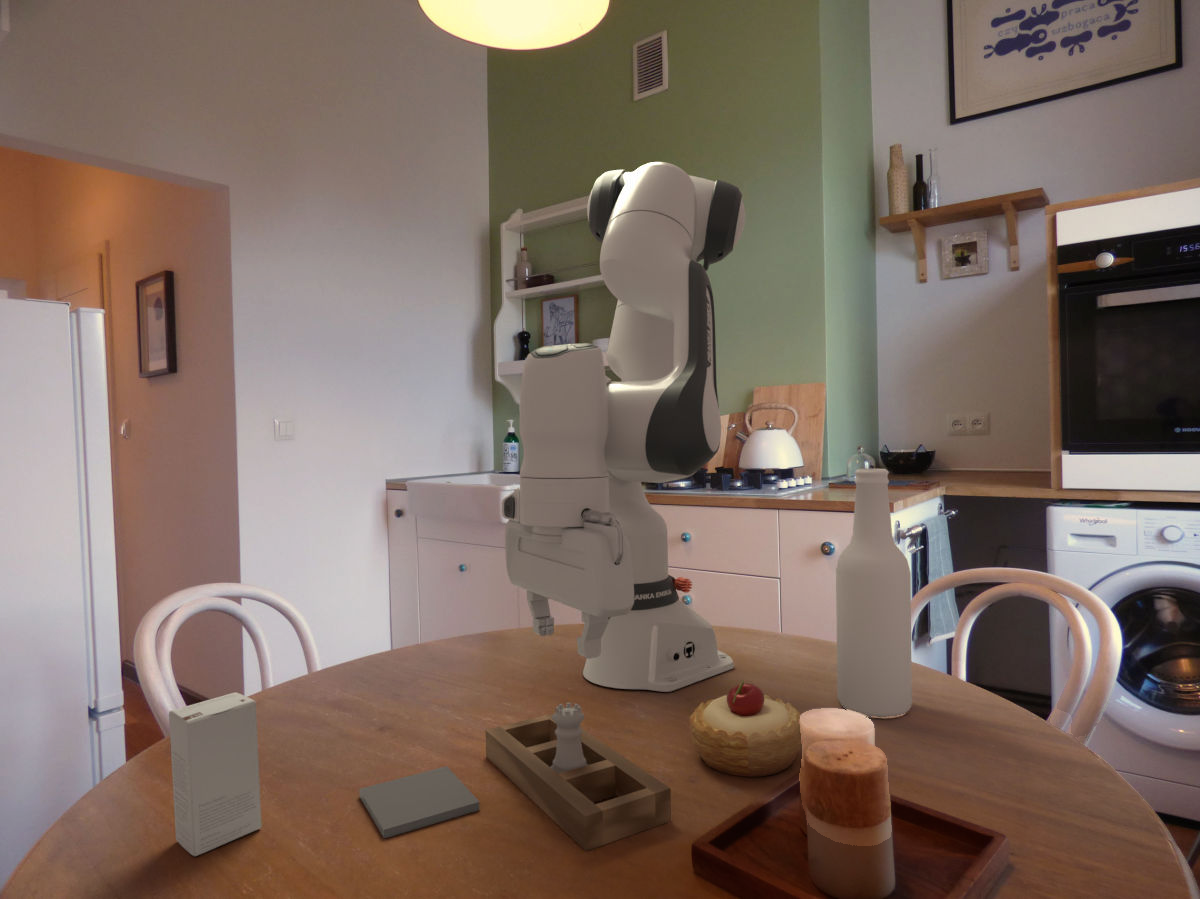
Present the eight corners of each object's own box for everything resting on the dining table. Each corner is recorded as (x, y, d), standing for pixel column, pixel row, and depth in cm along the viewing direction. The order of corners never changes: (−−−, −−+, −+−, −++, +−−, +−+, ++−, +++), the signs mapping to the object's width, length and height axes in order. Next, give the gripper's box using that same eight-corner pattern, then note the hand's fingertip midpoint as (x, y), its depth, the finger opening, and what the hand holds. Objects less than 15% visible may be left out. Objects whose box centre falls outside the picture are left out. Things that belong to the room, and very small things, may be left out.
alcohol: (927, 714, 92) (925, 469, 91) (869, 725, 89) (866, 472, 88) (878, 691, 100) (876, 466, 99) (823, 700, 97) (820, 469, 96)
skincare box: (241, 815, 71) (237, 688, 71) (264, 830, 68) (259, 699, 68) (171, 843, 67) (166, 708, 66) (192, 861, 64) (187, 720, 63)
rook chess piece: (586, 798, 73) (585, 717, 73) (542, 794, 74) (540, 714, 74) (596, 777, 77) (594, 700, 77) (554, 774, 78) (552, 698, 78)
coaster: (447, 773, 79) (446, 766, 79) (479, 810, 71) (479, 801, 71) (359, 796, 74) (359, 788, 74) (384, 838, 67) (383, 829, 67)
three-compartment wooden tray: (558, 737, 87) (557, 712, 87) (671, 820, 69) (670, 788, 68) (486, 756, 83) (485, 729, 83) (585, 851, 64) (585, 816, 64)
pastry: (807, 742, 85) (806, 664, 85) (799, 791, 74) (798, 701, 73) (702, 730, 89) (701, 656, 89) (679, 775, 78) (678, 690, 77)
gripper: (650, 512, 67) (651, 666, 68) (546, 497, 85) (547, 620, 85) (590, 516, 64) (590, 678, 64) (494, 500, 82) (495, 627, 82)
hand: (565, 644), depth 75 cm, fingers open, 8 cm apart
